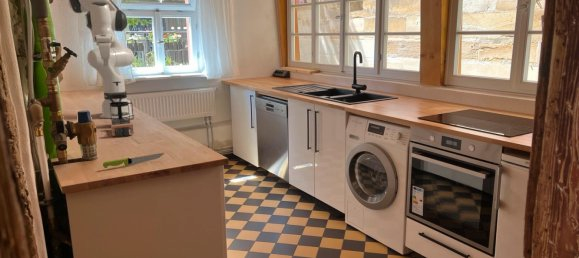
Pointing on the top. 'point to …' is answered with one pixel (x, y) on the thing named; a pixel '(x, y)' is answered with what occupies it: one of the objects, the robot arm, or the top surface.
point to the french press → (119, 104)
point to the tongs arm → (125, 129)
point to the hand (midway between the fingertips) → (106, 67)
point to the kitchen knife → (132, 160)
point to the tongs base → (119, 121)
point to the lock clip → (121, 127)
